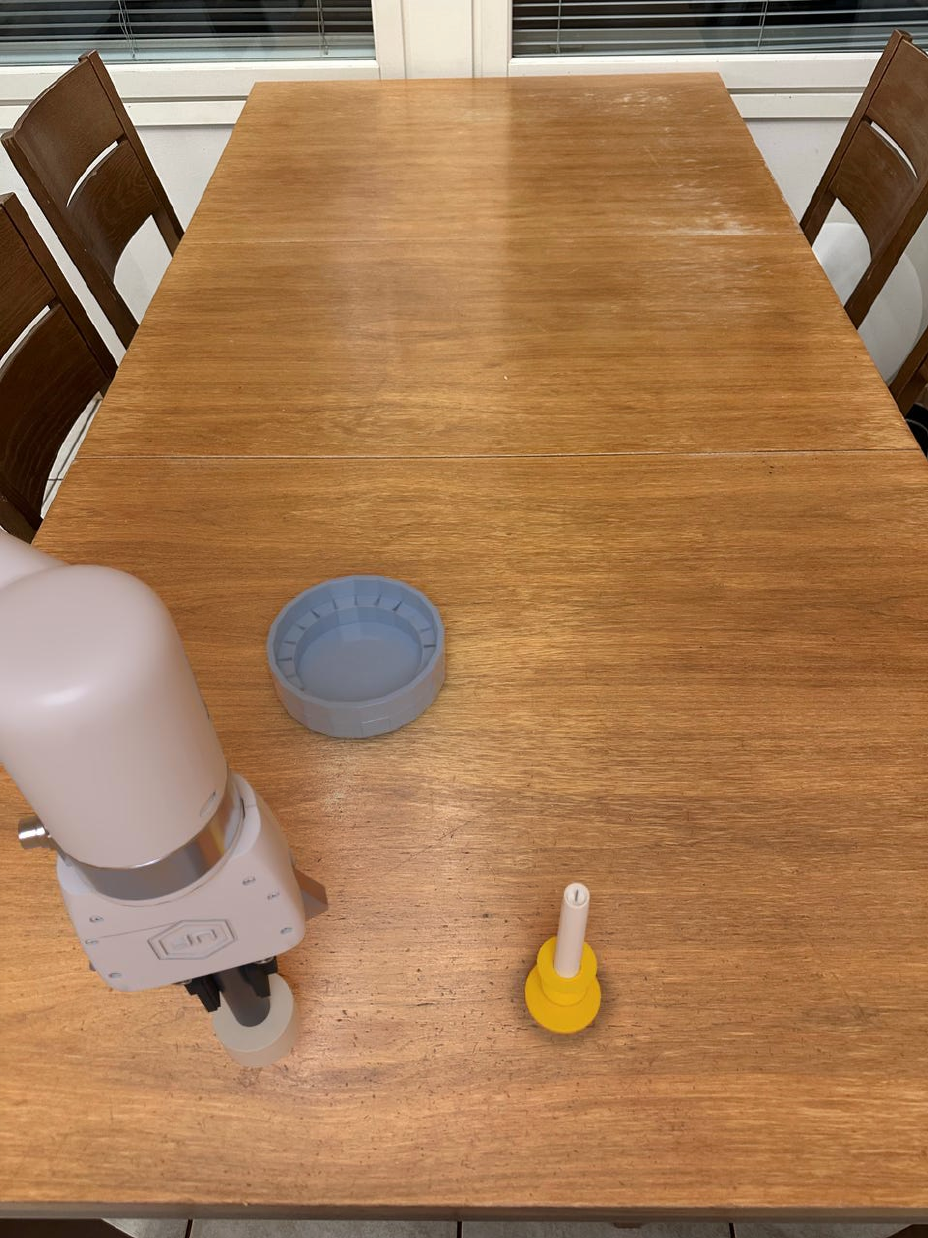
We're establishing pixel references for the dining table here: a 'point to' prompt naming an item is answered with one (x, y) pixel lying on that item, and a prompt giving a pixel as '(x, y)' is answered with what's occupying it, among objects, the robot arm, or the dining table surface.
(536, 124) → the dining table surface
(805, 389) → the dining table surface
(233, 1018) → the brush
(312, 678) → the bowl
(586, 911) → the candle
